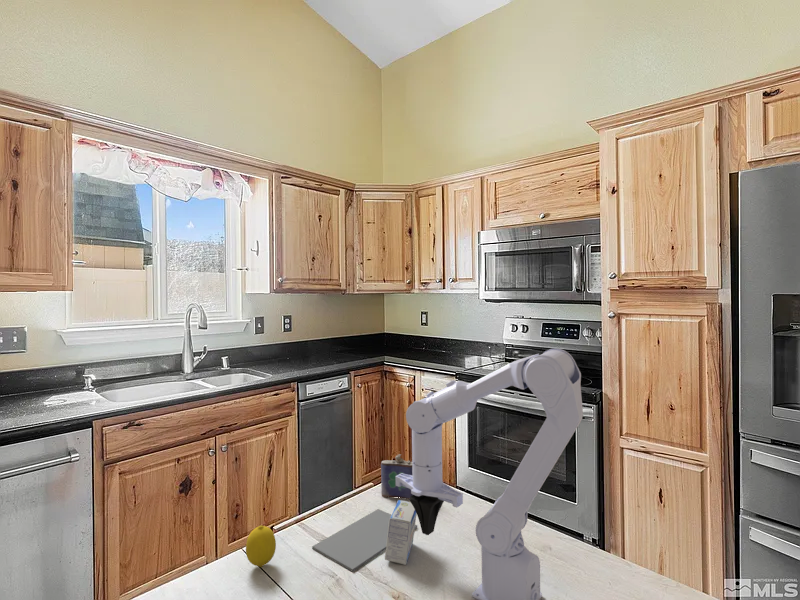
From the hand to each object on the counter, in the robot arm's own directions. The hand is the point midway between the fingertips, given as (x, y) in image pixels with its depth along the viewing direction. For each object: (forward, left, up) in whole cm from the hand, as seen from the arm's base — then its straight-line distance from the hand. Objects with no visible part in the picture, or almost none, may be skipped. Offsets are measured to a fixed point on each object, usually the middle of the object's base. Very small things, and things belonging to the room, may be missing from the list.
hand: (428, 532), depth 84 cm
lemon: (+25, +20, -7) cm, 33 cm away
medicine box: (+7, 0, -7) cm, 10 cm away
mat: (+16, 0, -7) cm, 18 cm away
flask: (+23, -19, -7) cm, 31 cm away
